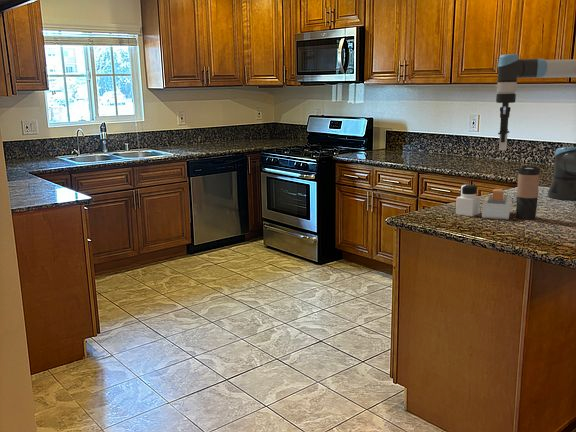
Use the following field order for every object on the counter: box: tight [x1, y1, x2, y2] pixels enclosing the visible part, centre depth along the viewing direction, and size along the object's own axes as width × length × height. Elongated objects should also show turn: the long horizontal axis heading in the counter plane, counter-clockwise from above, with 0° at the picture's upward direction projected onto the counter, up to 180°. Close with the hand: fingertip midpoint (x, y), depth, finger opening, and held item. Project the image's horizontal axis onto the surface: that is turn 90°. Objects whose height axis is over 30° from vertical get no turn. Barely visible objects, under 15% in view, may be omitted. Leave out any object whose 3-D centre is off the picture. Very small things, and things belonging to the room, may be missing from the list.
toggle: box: [492, 188, 505, 200], centre depth 230 cm, size 4×3×4 cm
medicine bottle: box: [455, 184, 481, 217], centre depth 231 cm, size 7×7×12 cm
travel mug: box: [515, 165, 540, 221], centre depth 221 cm, size 8×8×20 cm
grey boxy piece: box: [481, 194, 512, 220], centre depth 229 cm, size 10×14×7 cm
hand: (502, 149), depth 239 cm, fingers open, 5 cm apart
